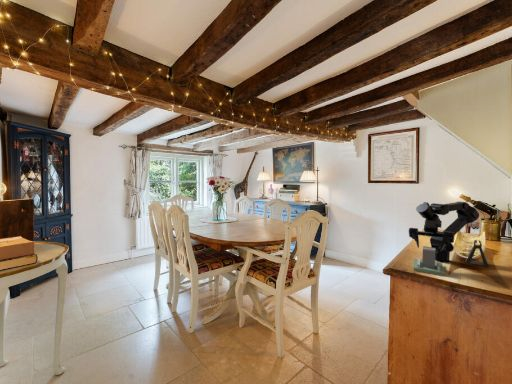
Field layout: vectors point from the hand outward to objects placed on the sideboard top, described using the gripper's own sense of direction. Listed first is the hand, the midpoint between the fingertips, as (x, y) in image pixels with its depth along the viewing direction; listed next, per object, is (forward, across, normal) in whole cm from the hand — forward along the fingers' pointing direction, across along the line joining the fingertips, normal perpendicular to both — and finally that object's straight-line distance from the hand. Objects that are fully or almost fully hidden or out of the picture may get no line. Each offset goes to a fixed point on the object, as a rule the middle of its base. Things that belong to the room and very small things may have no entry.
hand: (429, 249), depth 121 cm
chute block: (+6, 0, +6) cm, 9 cm away
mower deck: (+6, 0, +8) cm, 10 cm away
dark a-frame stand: (-11, +19, +26) cm, 34 cm away
